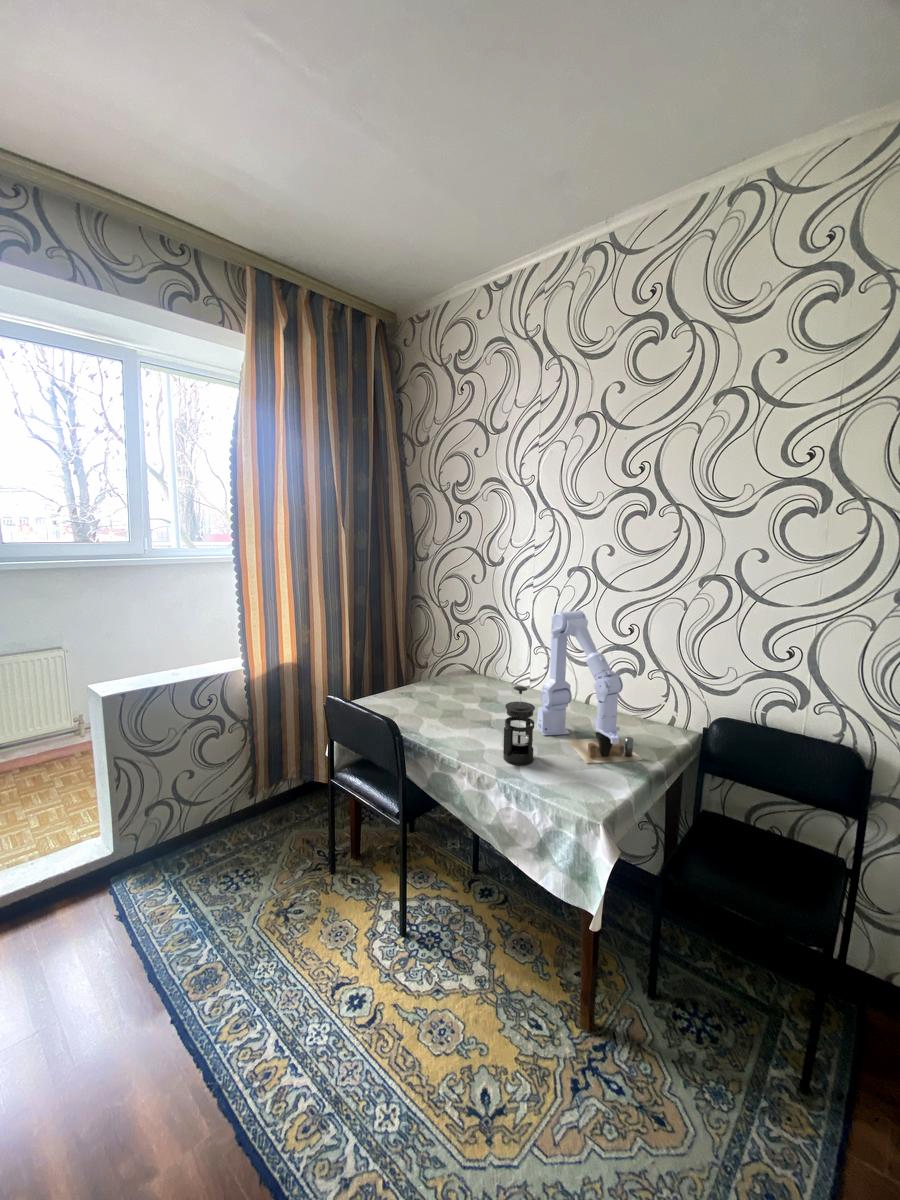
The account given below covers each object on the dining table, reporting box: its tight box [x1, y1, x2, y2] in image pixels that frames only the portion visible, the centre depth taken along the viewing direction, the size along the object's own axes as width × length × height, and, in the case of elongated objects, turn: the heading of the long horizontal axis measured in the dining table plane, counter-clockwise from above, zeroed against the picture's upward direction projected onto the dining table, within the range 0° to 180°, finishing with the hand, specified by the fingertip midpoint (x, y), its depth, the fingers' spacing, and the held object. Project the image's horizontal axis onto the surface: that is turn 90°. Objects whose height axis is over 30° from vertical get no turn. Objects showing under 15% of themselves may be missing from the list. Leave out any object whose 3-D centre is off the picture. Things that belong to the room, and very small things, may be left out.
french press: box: [502, 685, 536, 767], centre depth 150 cm, size 12×9×23 cm
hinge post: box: [624, 736, 634, 757], centre depth 153 cm, size 2×2×6 cm
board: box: [566, 737, 643, 765], centre depth 158 cm, size 18×16×1 cm
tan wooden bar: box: [588, 743, 624, 757], centre depth 152 cm, size 11×2×4 cm, turn 97°
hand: (604, 756), depth 151 cm, fingers closed
